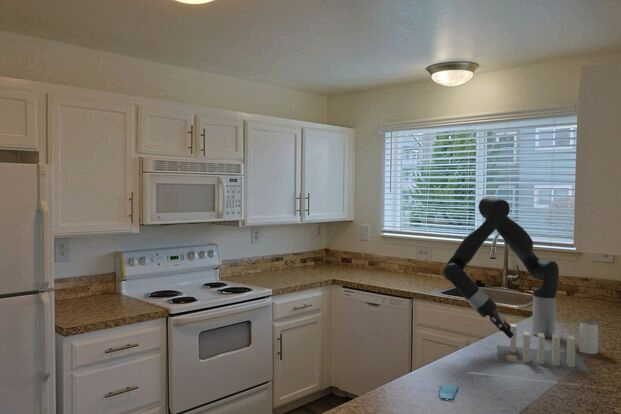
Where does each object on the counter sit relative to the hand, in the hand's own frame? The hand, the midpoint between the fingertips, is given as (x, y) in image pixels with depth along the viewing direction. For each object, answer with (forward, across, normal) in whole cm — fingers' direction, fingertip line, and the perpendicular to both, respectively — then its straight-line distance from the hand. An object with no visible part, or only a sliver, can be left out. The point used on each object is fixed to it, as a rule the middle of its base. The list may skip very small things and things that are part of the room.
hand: (511, 333), depth 205 cm
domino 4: (+15, -11, -6) cm, 20 cm away
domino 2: (+8, -11, +1) cm, 14 cm away
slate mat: (+12, -6, -2) cm, 13 cm away
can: (+25, +9, -15) cm, 31 cm away
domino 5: (+19, -11, -9) cm, 24 cm away
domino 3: (+12, -11, -2) cm, 16 cm away
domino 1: (+5, 0, +4) cm, 7 cm away
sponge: (-9, -53, +20) cm, 57 cm away
